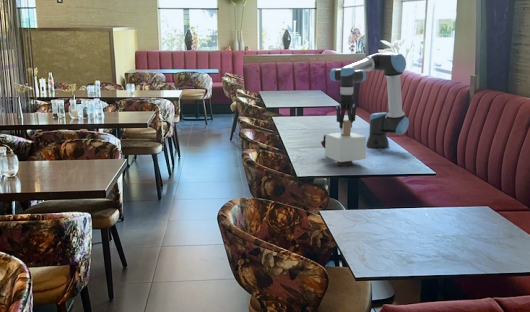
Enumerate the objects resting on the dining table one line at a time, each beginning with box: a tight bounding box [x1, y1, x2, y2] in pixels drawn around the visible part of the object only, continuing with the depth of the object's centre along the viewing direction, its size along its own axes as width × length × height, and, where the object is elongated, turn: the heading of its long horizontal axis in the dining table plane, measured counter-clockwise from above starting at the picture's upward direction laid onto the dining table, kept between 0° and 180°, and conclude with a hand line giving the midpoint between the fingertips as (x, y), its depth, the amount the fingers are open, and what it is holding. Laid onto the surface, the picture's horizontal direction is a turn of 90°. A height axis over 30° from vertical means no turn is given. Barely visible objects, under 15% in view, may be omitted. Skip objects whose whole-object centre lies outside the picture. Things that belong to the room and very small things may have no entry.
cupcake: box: [337, 161, 353, 167], centre depth 326 cm, size 10×10×10 cm
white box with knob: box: [324, 119, 367, 162], centre depth 323 cm, size 17×17×22 cm
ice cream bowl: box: [320, 133, 327, 158], centre depth 345 cm, size 11×11×15 cm
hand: (345, 133), depth 323 cm, fingers closed on white box with knob, 4 cm apart
